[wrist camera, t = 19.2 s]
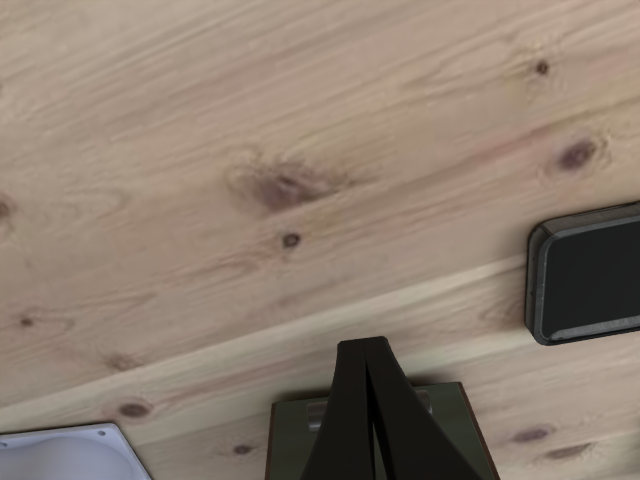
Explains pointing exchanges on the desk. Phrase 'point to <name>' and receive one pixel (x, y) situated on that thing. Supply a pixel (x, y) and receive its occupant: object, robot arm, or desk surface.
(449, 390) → the drawer
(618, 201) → the desk surface
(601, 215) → the phone
